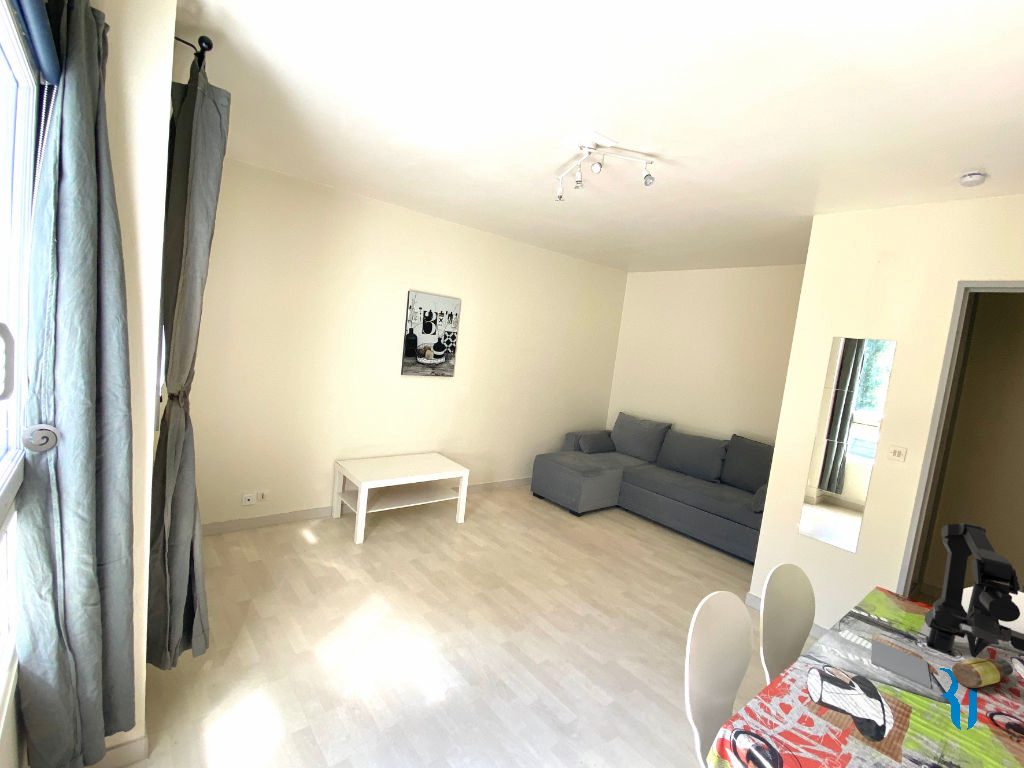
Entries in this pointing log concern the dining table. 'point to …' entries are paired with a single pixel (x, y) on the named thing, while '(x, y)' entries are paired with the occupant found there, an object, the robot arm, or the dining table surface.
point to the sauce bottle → (981, 671)
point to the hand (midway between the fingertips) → (973, 656)
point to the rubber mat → (900, 663)
